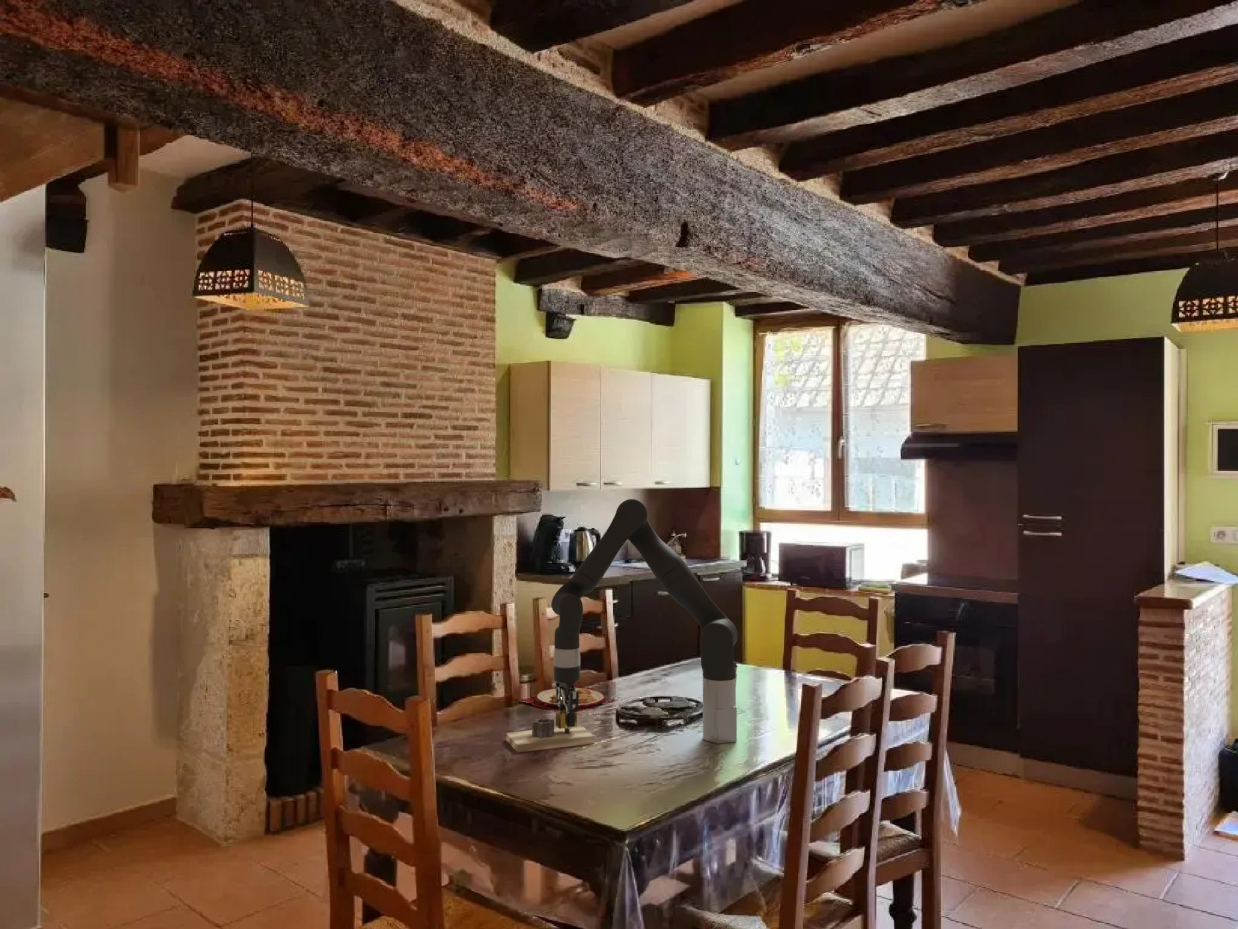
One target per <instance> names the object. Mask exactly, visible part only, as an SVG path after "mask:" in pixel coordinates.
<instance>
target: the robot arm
mask: <svg viewBox="0 0 1238 929" xmlns="http://www.w3.org/2000/svg"><path fill="white" fill-rule="evenodd" d="M648 515H649V514H648V509H647V507H646V505H645V504H644V503H643V501H641V500H639V499H636V498H628V499H626V500H624V501H622V502H621V503H620V504H619V505H618V507H617V508H616V511H615V514H614V516H613V518H612V520H611V522H610V524H609V526H608V527H607V529H606V531H605V532H604V533H603V536H602V537H601V538H600V540H599V541H598V542H597V544H596V545H595V546H594V547H593V548H592V550H591V551H590V553H588V555H587V556H586V557H585V559H584V560H583V561H582V563H581V564H580V565H579V567H578V568H577V570H576V571H575V573H574V574H573V575H572V576H571V577H570V578H569V579H568V580H567V581H565V583H564V584H562V586H560V588H559V589H558V590H557V591H556V592H555V594H554V595H553V597H552V600H551V604H550V605H551V609H552V612H553V613H554V614H555V615H557V616H559V622H558V626H557V627H556V628H555V630H554V650H553V681H554V682H555V689H556V702H557V703H558V706H559V710H558V711H560V710H562V709H566V712H567V726H568V727H574V726H575V713H576V712H578V713H579V711H578V710H579V709H578V701H579V692H578V691H576V689H575V687H574V686H575V683H578V681H579V682H580V680H581V650H580V630H581V627H582V622H583V617H584V616H583V615H584V605H583V601H582V598H583V596H585V595H586V594H588V593H591V592H593V590H595V588H596V586H597V585H598V584H599V583H600V581H601V580H602V579H603V577H604V575H605V574H606V572H608V569H610V566H611V565H612V563H613V561H614V560H615V559H616V556H617V555H618V553H619V552H620V551H621V549H622V547H623V546H624V544H626V542H627V541H629V542H630V543H631V545H632V546H634V547H635V549H636V550H637V551H638V552H639V554H640V555H641V557H642V559H643V561H644V562H645V563H646V565H647V566H648V568H649V569H650V571H651V573H653V575H654V576H655V578H656V579H657V581H658V582H659V584H660V585H661V586H662V588H663V589H664V590H665V592H666V593H667V594H668V595H669V596H670V597H671V598H672V599H673V600H674V601H675V602H676V603H677V604H679V605H680V606H681V607H682V608H684V609H685V610H686V611H687V612H688V613H690V615H691V616H692V617H693V618H694V620H695V621H696V622H697V623H698V626H699V627H700V629H701V630H702V631H701V634H700V666H701V670H702V739H703V740H704V741H707V742H710V743H713V744H717V745H720V744H726V743H735V742H738V741H737V740H738V738H737V730H738V728H737V726H738V724H737V723H738V722H737V720H738V719H737V718H738V716H737V712H738V711H737V701H736V700H737V696H736V694H737V692H736V691H737V690H736V689H737V679H736V674H737V672H736V669H735V667H734V662H735V660H734V646H735V644H736V643H737V641H738V635H739V634H738V630H737V628H736V625H735V624H734V623H733V621H731V620H730V619H729V618H728V616H727V615H726V614H725V613H724V612H723V611H722V610H721V609H720V608H719V606H718V605H717V604H716V603H714V601H713V600H712V599H711V597H710V596H709V595H708V593H707V591H706V590H705V588H704V587H703V585H702V584H701V583H700V581H699V580H698V578H697V577H696V576H695V574H694V573H693V571H692V570H691V569H690V568H689V566H688V564H686V562H685V561H684V559H683V558H682V557H681V556H680V555H679V554H678V553H677V552H676V551H675V550H674V549H673V548H671V547H670V546H669V545H668V544H666V543H665V542H664V541H663V540H662V539H661V538H660V537H659V536H658V534H657V533H656V531H655V530H654V528H653V527H652V526H651V524H650V521H649V520H648ZM568 701H569V702H568ZM568 705H569V706H568ZM572 706H573V708H571V707H572Z"/></svg>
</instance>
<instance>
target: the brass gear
mask: <svg viewBox="0 0 1238 929" xmlns="http://www.w3.org/2000/svg"><path fill="white" fill-rule="evenodd" d="M578 718H579V711H578V712H576V713H575V726H574V727H578V725H579V722H578V721H579V720H578ZM555 727H558V728H559V729H562V728H564V729H566V728H568V729H572V728H574V727H568V726H567V712H566V709H562V710H560V711H559V710H555Z"/></svg>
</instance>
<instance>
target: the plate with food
mask: <svg viewBox="0 0 1238 929" xmlns="http://www.w3.org/2000/svg"><path fill="white" fill-rule="evenodd" d="M578 684H579V685H582V684H583V682H581V681H580V680H579V681H578V682H577V684H574V687H575V689H576V691H578V692H579V701H578V712H582V711H584V710H585V711H586V710H595V709H597V708H598V707H597V706H599V705H603V704H604V703H606V702H607V703H606V705H607V704H608V705H610V704H609V703H615V701H617V699H615V698H612V699H609V698H605V697H606V696H605V695H604V693H602V692H600V691H597V690H596V689H595V688H594V687H593V686H592V687H585V686H579V685H578ZM533 700H535V701H533ZM519 701H521V702H525V703H528V704H531V705H532V706H535V707H538V708H541V709H547V710H549V711H552V710H554V711H553V712H554V713H556V710H557V711H559V706H558V703H557V702H556V688H548V689H544V690H541V691H540V692H538V693H536V694H535V695H531V696H530V697H527V698H519ZM568 702H569V701H568ZM568 706H569V705H568ZM596 707H597V708H596ZM571 708H573V706H572V707H571Z"/></svg>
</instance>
